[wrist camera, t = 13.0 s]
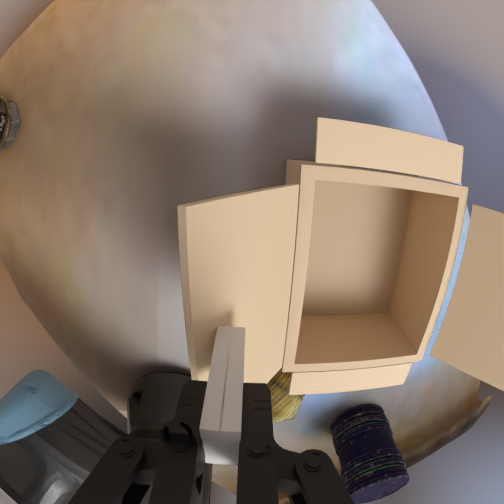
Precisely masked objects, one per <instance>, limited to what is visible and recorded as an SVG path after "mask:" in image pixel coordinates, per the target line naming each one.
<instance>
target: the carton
mask: <svg viewBox="0 0 504 504" xmlns="http://www.w3.org/2000/svg"><path fill="white" fill-rule="evenodd" d="M462 161H463V146H460V145H457V144H453V143H450V142H446V141H443V140H439V139H435V138H431V137H428V136H423V135H419V134H415V133H411V132H406V131H402V130H397V129H392V128H387V127H381V126H376V125H370V124H364V123H358V122H351V121H344V120H337V119H329V118H320V117H317V122H316V146H315V161H306V160H291V159H286V175H285V185H287V184H299V195H298V210H297V224H296V237H295V249H294V260H293V272H292V282H291V292H290V302H289V312H288V321H287V330H286V338H285V347H284V355H283V363H282V372H292V374H291V380H290V386H289V395H302V394H321V393H335V392H346V391H356V390H365V389H373V388H381V387H388V386H394V385H400V384H403V383H404V381H405V379H406V377H407V374H408V372H409V370H410V368H411V365H412V362H416V361H421V359H422V357H423V355H424V352H425V350H426V348H427V345H428V343H429V340H430V338H431V335H432V332H433V330H434V327H435V324H436V321H437V319H438V316H439V313H440V310H441V307H442V304H443V301H444V298H445V294H446V291H447V288H448V284H449V281H450V277H451V274H452V270H453V266H454V262H455V258H456V254H457V250H458V245H459V241H460V236H461V231H462V226H463V220H464V215H465V208H466V202H467V195H468V187H464V186H461V185H458V184H454V183H450V182H447V181H451V182H456V183H460V182H461V172H462ZM439 179H441V180H439ZM443 180H446V181H443Z"/></svg>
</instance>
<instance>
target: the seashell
mask: <svg viewBox="0 0 504 504" xmlns="http://www.w3.org/2000/svg"><path fill="white" fill-rule="evenodd" d="M291 374H292V372H282V368H281V369H280V370H279V371H278V372H277V373H276V374H275V375H274V376H273V378H272V379H271V380H270V381H269V382H268V383H267V384H266V385H267V386H268V388H269V389H270V391H271V404H272V422H273V423H275V422H280V421H282V420H291V419H294V417H295V414H296V412H297V410H298V406H299V405H300V403H301V401H302V399H303V396H304V394H302V395H289V386H290V380H291Z"/></svg>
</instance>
